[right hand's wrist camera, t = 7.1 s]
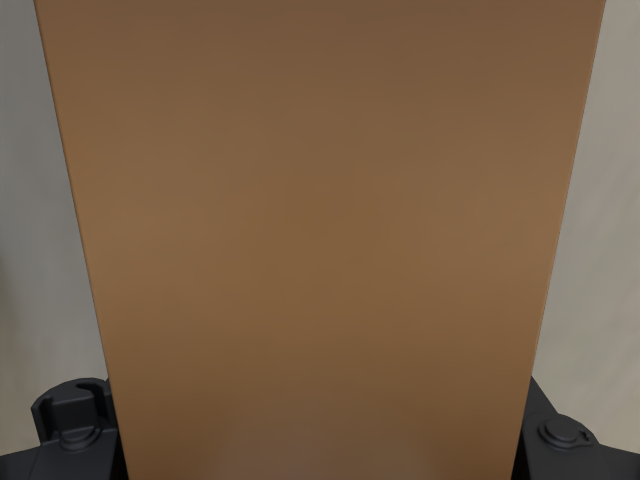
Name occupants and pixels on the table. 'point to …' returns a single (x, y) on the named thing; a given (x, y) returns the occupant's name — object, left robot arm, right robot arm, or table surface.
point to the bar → (319, 223)
